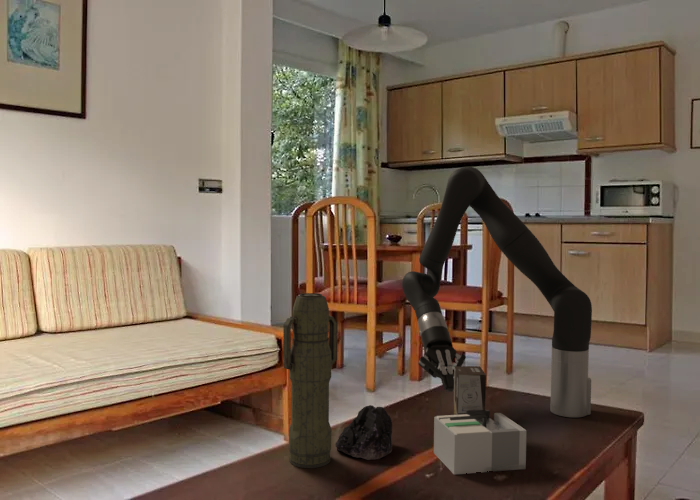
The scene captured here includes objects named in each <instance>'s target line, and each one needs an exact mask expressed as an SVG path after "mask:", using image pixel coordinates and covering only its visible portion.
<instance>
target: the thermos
mask: <svg viewBox="0 0 700 500" xmlns="http://www.w3.org/2000/svg"><path fill="white" fill-rule="evenodd" d="M291 329H292V330H291ZM291 331H292V332H291ZM292 333H293V334H292ZM291 335H293V338H292V337H291ZM291 338H292V339H291ZM337 339H338V322H337V320H336V319H335V317H334V316H332V315H330V308H329V304H328V301H327V298H326V296H325V295H323V294H321V293H315V292H313V293H310V292H309V293H306V292H305V293H299V295H296V298H295V301H294V304H293V307H292V316H289V317H288V318H286V320H285V322H284V324H283V349H282V350H283V353H282V354H283V355H282V357H283V368H284V369H286V370H288V371H289V373H288V375H289V380H290V382H291V417H290V419H291V423H290V426H289V428H288V450H289V461H288V462H289V463H290V464H291V465H292V466H294V467H297V468H303V469H315V468H321V467H324V466H326V465H329V463H330V462H331V450H332V427H331V424H330V421H329V419H330V418H329V417H330V414H329V412H330V381H331V379H332V367H333V365H334V364H335V363H336V361H337V360H338V348H337V347H338V340H337ZM291 341H292V343H291Z"/></svg>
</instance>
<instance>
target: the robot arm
mask: <svg viewBox="0 0 700 500" xmlns="http://www.w3.org/2000/svg"><path fill="white" fill-rule="evenodd" d="M444 191H445V192H444V196H443V200H442V203H441V206H440V208H439V209H440V210H439V212H438V215H437V218H436V220H435V222H434V224H433V226H432V229H431V231H430V232H429V235H428V238H427V239H426V241H425V243H424V245H423V249H422V251H421V253H420V256H419V258H418V259H419V261H418V262H419V263H420V265H421V266H422V267H424V268H426V269H427V270H428V271H427V272H426V273H425V272H424V273H423V272H419V271H414V270H413V271H408V272H407V273H406V274H404V276H403V278H402V280H401V281H402V283H401V287H402V292H403V294H404V296H405V298H406V300H407V301H408V302H409V304H410V306H411V308H412V309H413V311H414V314H415V317H416V320H417V324H418V332H419V336H420V339H421V342H422V347H423V350H424V354H423V355H424V356H421V357H420V359H419V361H418V365H419V367H421V368H422V369H423V370H424V371H426V372H427V373H428V374H429V375H430V376H431V377H433V378H434V379H436V378H439V379H440V380H441V383H442V387H443V389H444V390H445V391H446V392H448V393H450V392H453V393H454V368H453V362H454V359H455V363H456V365H455V366H460V367H463V364H464V362H465V360H466V358H467V357H466V355H465V354H461V355H460V354H459V353H457V350H456V348H454V347H453V346H454V345H453V341H452V338H451V335H450V331H449V328H448V325H447V322H446V319H445V317H444V315H443V312H442V309H441V306H440V302H439V300H437V298H435V297H436V296H437V294H438V293H439V291H440V286H441V280H442V274H443V269H444V265H445V262H446V260H447V258H448V257H449V253H450V252H451V249H452V247H453V245H454V244H453V243H454V240H455V238H456V234H457V232H458V228H459V225H460V223H461V221H462V219H463V216H464V215H465V213H466V211H467V209H468V208H469V207H471V208H472V210H473V211H474V212H475V213H476V214H477V215H478V217H479V218H480V219H481V221H482V222H483V224H484V225H485V227H486V230H487V231H488V233H489V234H490V237H491V239H492V240H493V242H494V243H495V245H496V246H497V248H498V249H499V250H500V252H502V254H503V255H504V256H505V257H506V258H507V259H508V260H509V261H510V263H511V264H512V265H513V266H514V267H515V268H516V269H517V270H518V271H519V272H520V273H522V275H524V276H525V277H526V278H528V280H530V282H532V283H533V284H534V285H535V287H536V288H537V289H538V290H539V292H540V293H541V294H542V295H543V297H544V298H545V300H546V301H547V302H548V304H549V305H550V307H551V309H552V311H553V313H554V314H553V334H552V337H551V365H550V366H551V368H550V369H551V373H550V375H551V376H550V403H549V404H550V405H549V406H550V409H549V410H550V412H551V413H552V414H554V415H556V416H560V417H566V418H582V417H583V418H584V417H586V416H589V415H591V411H592V410H591V409H592V408H591V407H592V406H591V405H592V401H591V400H592V378H590V377H589V354H590V353H589V352H590V350H589V348H590V341H591V337H592V319H593V318H592V317H593V316H592V315H593V307H592V306H593V305H592V302H591V298H590V297H589V296H588V294H587V293H586V292H585V291H583V290H581V289H580V288H578V287H577V286H576V285H575V284H574V283H573V282H571V281H570V279H568V278H567V277H566V276H565V274H564V273H563V272H561V271H560V270H559V268H558V267H557V266H556V265H555V263H554V261H552V258H551V257H550V255H549V254H548V252H547V250H546V249H545V248H544V247H545V246H544V245H542V243H541V242H540V240H539V239H538V238H537V236H535V234H534V233H533V232H532V231H531V230H530V228H528V226H527V225H526V224H525V223H524V222H523V221H522V220H521V219H520V218H519V217H518V216H517V215H516V213H514V211H513V210H511V209H510V207H508V206H507V204H506V203H505V202H504V201H503V200H501V198H500V197H499V196H498V194H497V193H496V192H495V190H494V188H493V187H492V185H491V184H490V183H489V181H488V180H487V179H486V177H485V176H484V174H483V173H482V172H481V170H479V169H478V168H476V167H474V166H462V167H460V168H457V169H456V170H454V171H453V172H451V174H450V175H449V177H448V179H447V183H446V187H445V190H444Z"/></svg>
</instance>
